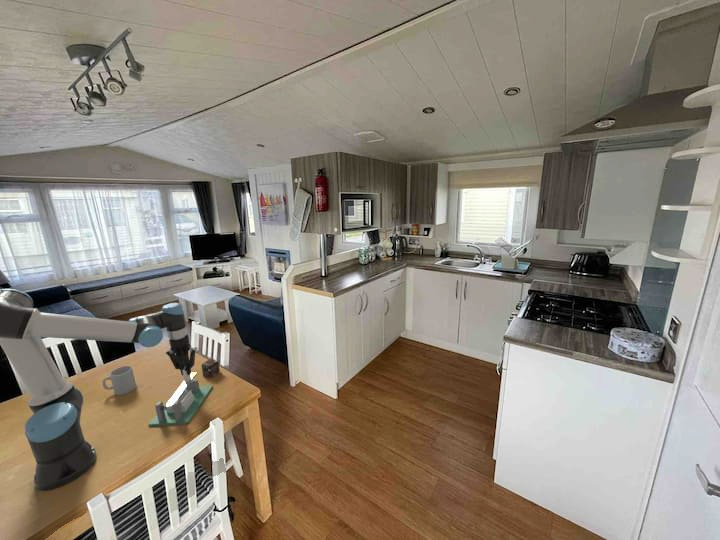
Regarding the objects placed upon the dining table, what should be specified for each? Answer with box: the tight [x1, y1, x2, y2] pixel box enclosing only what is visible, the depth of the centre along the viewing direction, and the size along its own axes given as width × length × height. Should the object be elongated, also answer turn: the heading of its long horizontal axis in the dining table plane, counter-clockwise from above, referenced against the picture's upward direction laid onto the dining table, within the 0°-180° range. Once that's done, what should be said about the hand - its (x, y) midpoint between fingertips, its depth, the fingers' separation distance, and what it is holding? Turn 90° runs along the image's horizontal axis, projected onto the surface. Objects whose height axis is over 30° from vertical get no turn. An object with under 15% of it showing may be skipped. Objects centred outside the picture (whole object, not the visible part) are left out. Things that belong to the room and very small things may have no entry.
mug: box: [102, 365, 137, 396], centre depth 138 cm, size 12×8×11 cm
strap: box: [161, 371, 198, 410], centre depth 127 cm, size 22×5×2 cm, turn 4°
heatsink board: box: [147, 379, 214, 427], centre depth 128 cm, size 24×16×10 cm, turn 4°
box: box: [201, 358, 221, 378], centre depth 151 cm, size 6×6×7 cm
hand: (187, 380), depth 132 cm, fingers closed
